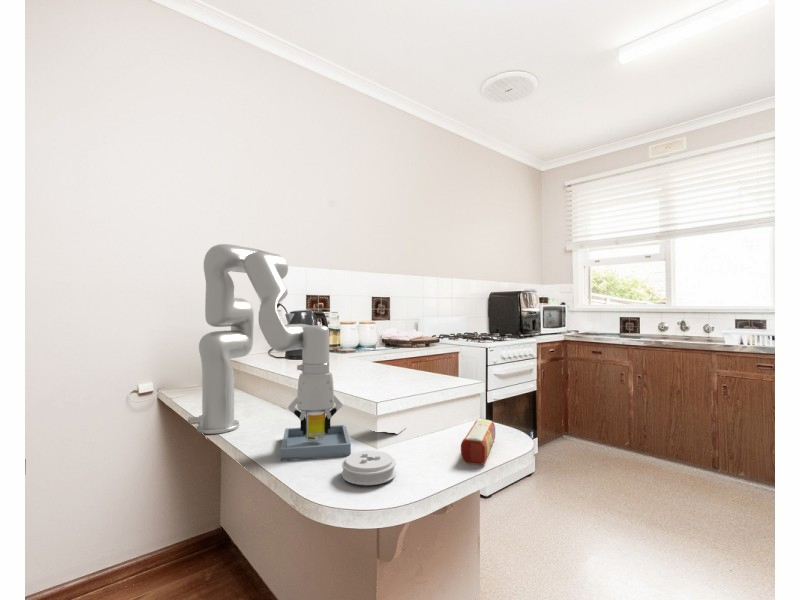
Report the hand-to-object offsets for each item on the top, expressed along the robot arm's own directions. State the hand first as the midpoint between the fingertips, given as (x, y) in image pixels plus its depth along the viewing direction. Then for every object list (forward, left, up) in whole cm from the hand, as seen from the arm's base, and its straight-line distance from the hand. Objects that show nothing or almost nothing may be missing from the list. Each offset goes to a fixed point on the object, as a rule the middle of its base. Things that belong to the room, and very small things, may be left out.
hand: (315, 431), depth 116 cm
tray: (0, 0, -4) cm, 4 cm away
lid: (+12, -23, -5) cm, 27 cm away
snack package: (+44, -13, -5) cm, 46 cm away
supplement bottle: (0, 0, -2) cm, 2 cm away
